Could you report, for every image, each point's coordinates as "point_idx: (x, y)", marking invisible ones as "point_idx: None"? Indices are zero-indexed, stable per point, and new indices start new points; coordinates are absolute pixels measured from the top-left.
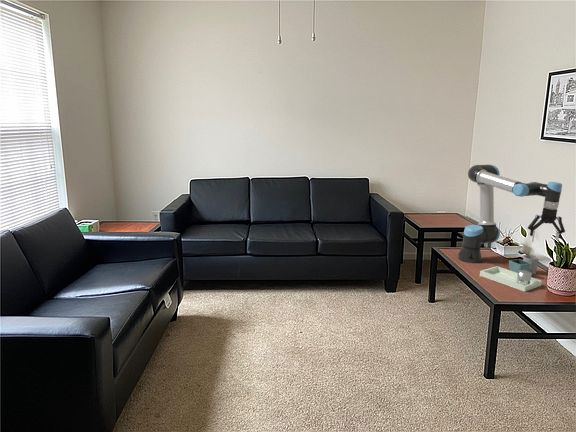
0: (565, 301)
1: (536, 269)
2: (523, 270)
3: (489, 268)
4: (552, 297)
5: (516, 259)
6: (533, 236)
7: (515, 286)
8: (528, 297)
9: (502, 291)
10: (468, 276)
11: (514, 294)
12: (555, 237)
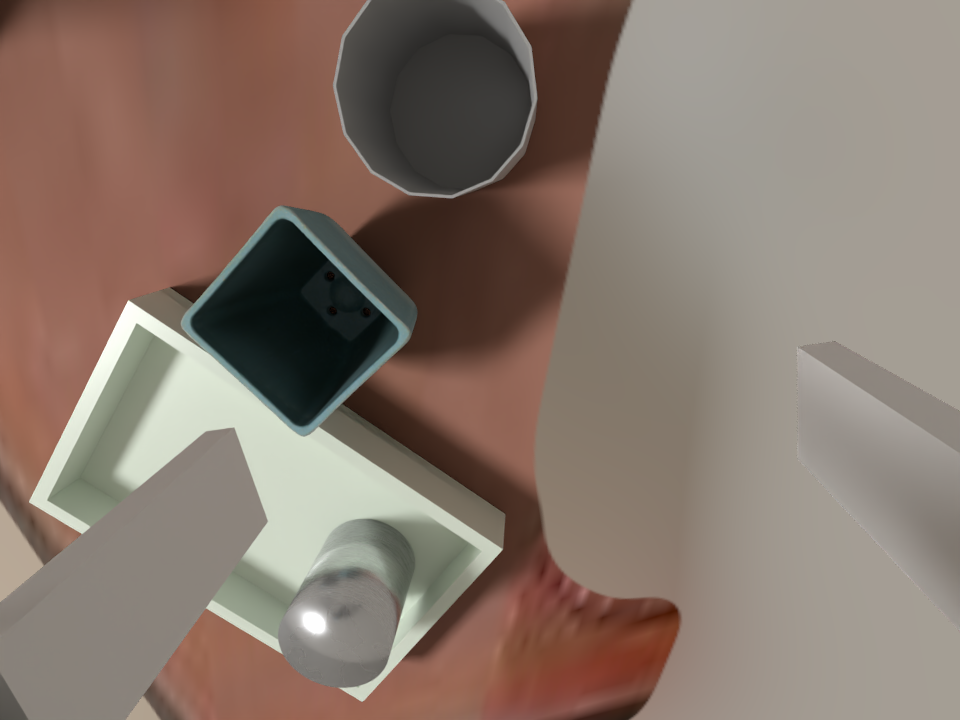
0: (614, 700)
1: (528, 139)
2: (322, 609)
3: (80, 407)
4: (546, 666)
5: (255, 237)
6: (180, 622)
7: None
8: (396, 709)
9: (249, 672)
10: (6, 491)
11: (317, 693)
12: (893, 426)
